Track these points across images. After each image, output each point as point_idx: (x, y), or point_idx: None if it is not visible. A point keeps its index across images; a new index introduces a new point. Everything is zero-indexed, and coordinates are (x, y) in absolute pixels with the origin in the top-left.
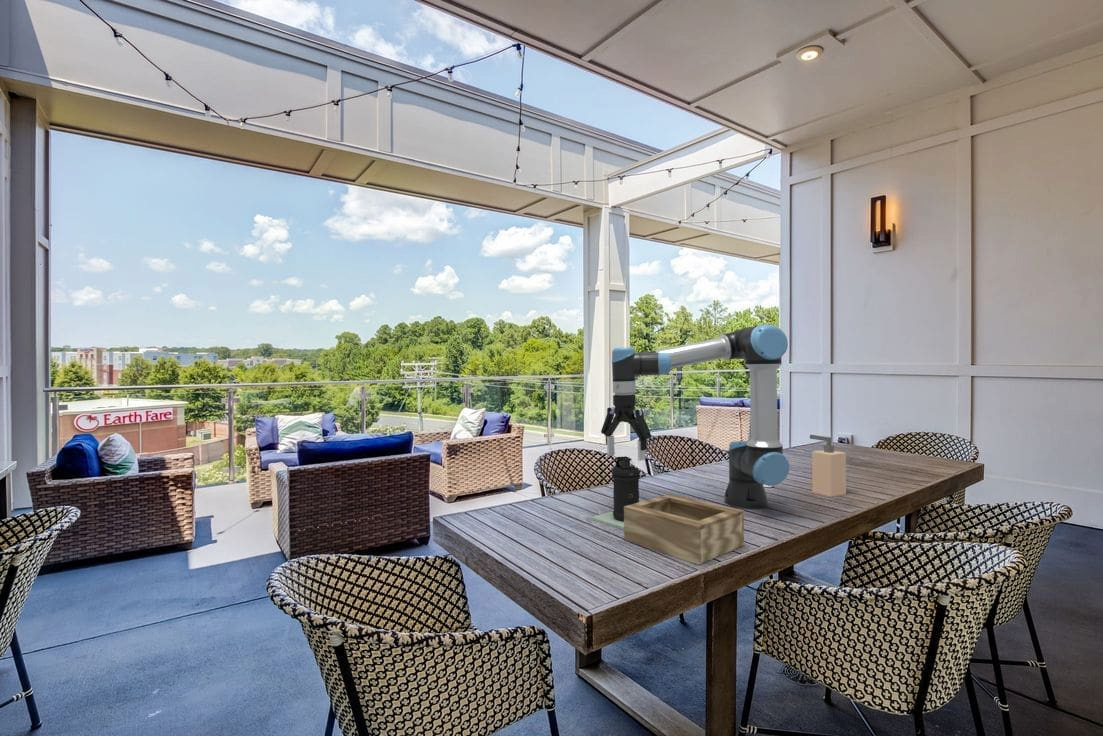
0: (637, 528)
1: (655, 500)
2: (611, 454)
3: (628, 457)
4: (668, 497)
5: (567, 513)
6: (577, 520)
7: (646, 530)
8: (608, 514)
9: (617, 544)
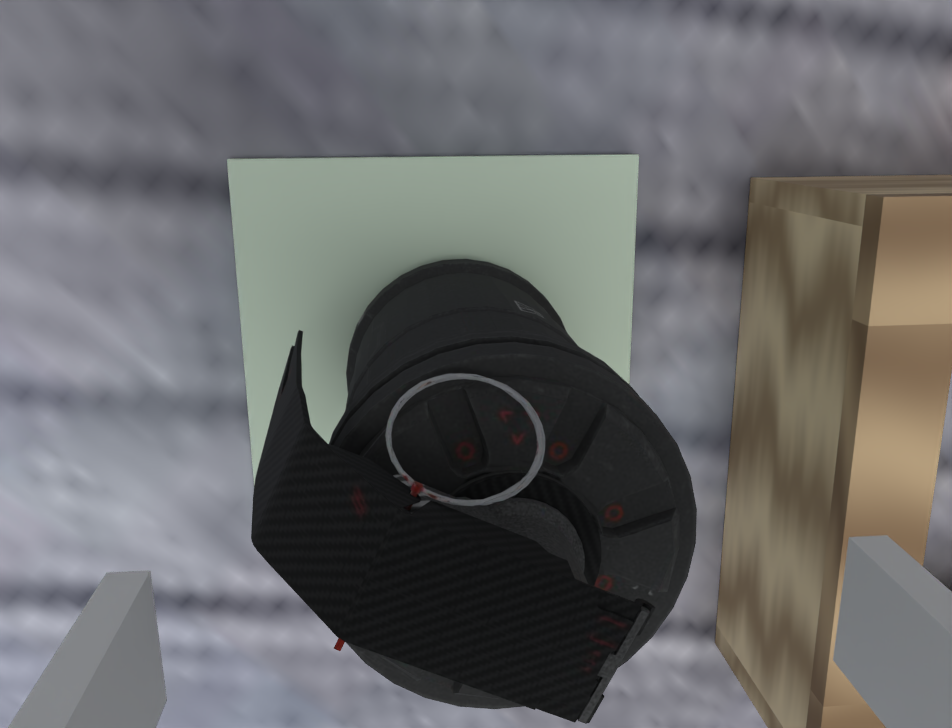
0: None
1: (907, 495)
2: (156, 654)
3: (514, 558)
4: (944, 324)
5: (8, 568)
6: (211, 617)
7: None
8: None
9: (733, 715)
